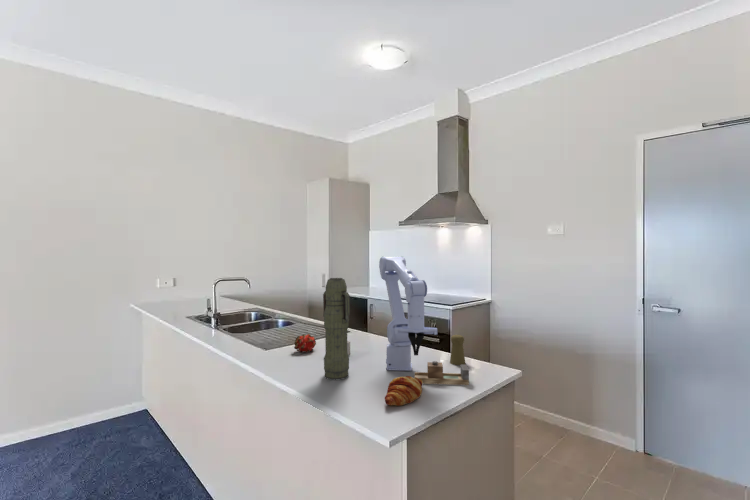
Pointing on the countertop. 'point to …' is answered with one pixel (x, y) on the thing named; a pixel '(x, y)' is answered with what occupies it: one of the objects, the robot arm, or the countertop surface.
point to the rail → (446, 377)
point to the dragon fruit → (305, 343)
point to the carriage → (435, 369)
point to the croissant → (403, 390)
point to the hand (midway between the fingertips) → (416, 354)
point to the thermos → (336, 328)
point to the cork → (457, 350)
